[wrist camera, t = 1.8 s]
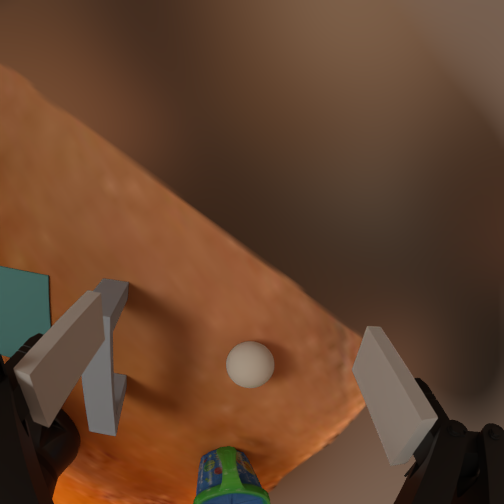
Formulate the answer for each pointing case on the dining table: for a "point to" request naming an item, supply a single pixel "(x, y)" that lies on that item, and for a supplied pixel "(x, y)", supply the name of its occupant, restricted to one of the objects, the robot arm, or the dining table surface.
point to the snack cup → (228, 479)
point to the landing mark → (22, 308)
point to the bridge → (106, 365)
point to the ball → (250, 364)
